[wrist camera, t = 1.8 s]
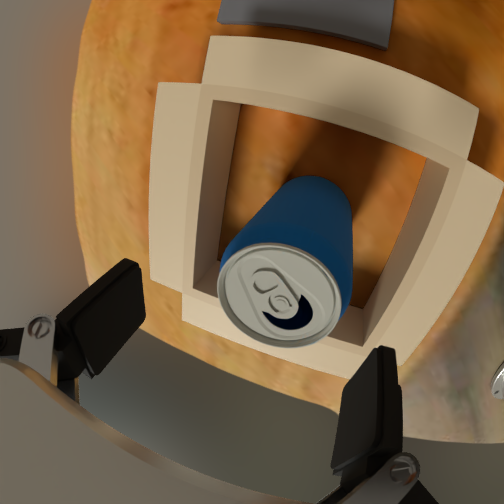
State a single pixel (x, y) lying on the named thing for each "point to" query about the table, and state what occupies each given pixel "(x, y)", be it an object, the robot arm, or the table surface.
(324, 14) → the mat
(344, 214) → the beverage can
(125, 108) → the table surface
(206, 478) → the robot arm
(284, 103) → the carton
